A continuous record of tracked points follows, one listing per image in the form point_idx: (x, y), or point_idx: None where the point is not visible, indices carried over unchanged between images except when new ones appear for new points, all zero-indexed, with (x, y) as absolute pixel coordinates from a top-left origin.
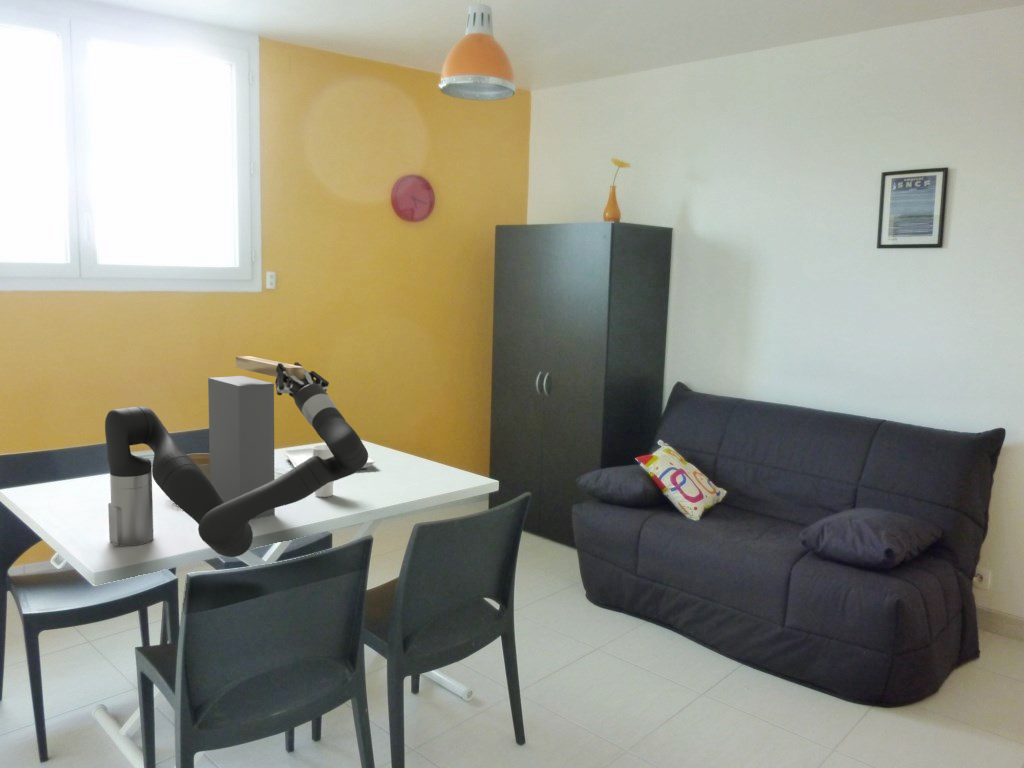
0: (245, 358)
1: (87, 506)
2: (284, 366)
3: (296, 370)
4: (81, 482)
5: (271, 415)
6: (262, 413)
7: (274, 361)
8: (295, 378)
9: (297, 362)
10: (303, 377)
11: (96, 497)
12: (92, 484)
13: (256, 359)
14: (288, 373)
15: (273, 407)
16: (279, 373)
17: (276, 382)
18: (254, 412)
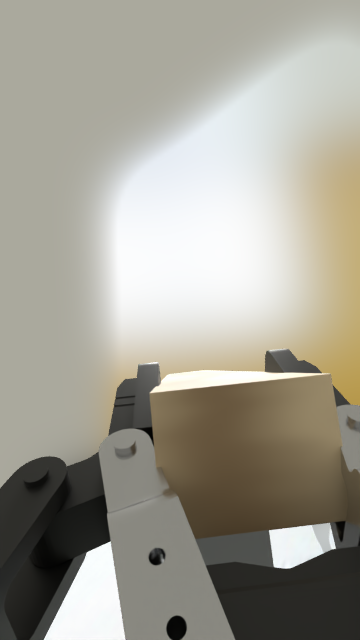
0: (171, 374)
1: None
2: (170, 384)
3: (240, 418)
4: (98, 548)
5: (263, 563)
6: (230, 556)
7: (219, 371)
8: (173, 583)
9: (283, 349)
10: (342, 499)
11: (68, 602)
12: (101, 557)
13: (187, 373)
14: (151, 457)
15: (267, 533)
16: (34, 464)
17: (20, 570)
18: (201, 553)
